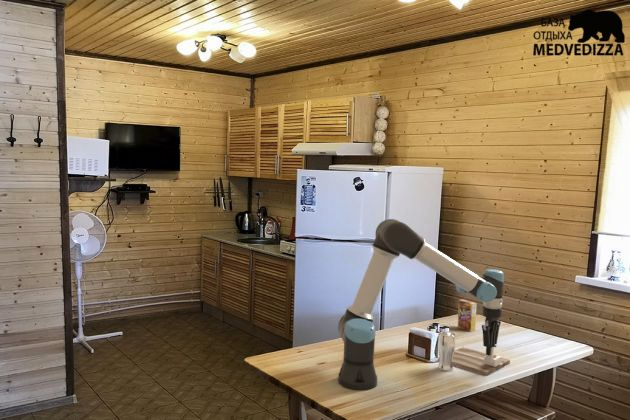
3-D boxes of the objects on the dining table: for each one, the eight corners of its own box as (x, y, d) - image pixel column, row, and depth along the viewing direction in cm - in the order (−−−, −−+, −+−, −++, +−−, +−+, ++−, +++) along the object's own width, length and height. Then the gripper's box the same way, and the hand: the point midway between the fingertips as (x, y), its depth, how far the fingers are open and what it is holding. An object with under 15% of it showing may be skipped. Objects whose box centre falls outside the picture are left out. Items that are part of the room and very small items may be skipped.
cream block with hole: (494, 366, 222) (495, 359, 222) (483, 363, 225) (484, 355, 225) (501, 363, 226) (501, 356, 226) (490, 360, 230) (490, 352, 229)
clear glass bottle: (454, 372, 219) (456, 337, 218) (437, 370, 220) (439, 335, 219) (453, 366, 226) (455, 332, 225) (436, 364, 227) (438, 330, 226)
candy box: (456, 327, 285) (458, 299, 284) (462, 326, 288) (463, 299, 287) (470, 332, 278) (472, 303, 277) (475, 330, 281) (477, 302, 279)
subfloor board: (486, 375, 217) (486, 372, 217) (438, 360, 232) (438, 357, 232) (509, 363, 233) (509, 360, 232) (463, 350, 248) (463, 346, 248)
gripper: (493, 311, 214) (490, 368, 216) (507, 306, 223) (504, 360, 225) (476, 307, 219) (473, 363, 221) (491, 302, 228) (487, 356, 230)
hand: (489, 362), depth 223 cm, fingers closed
